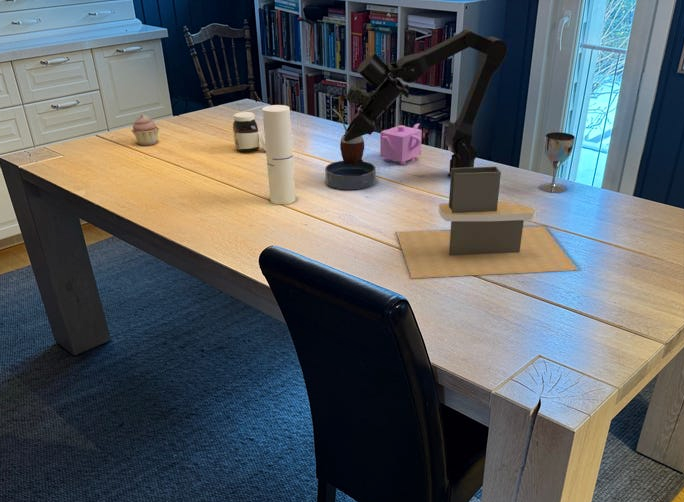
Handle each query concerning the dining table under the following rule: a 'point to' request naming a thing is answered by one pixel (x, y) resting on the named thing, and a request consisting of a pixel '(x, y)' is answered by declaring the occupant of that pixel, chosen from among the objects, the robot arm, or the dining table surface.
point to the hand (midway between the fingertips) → (345, 137)
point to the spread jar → (247, 133)
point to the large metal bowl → (350, 175)
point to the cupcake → (145, 130)
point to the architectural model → (481, 234)
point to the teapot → (400, 143)
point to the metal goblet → (557, 155)
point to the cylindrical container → (279, 153)
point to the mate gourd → (351, 148)
